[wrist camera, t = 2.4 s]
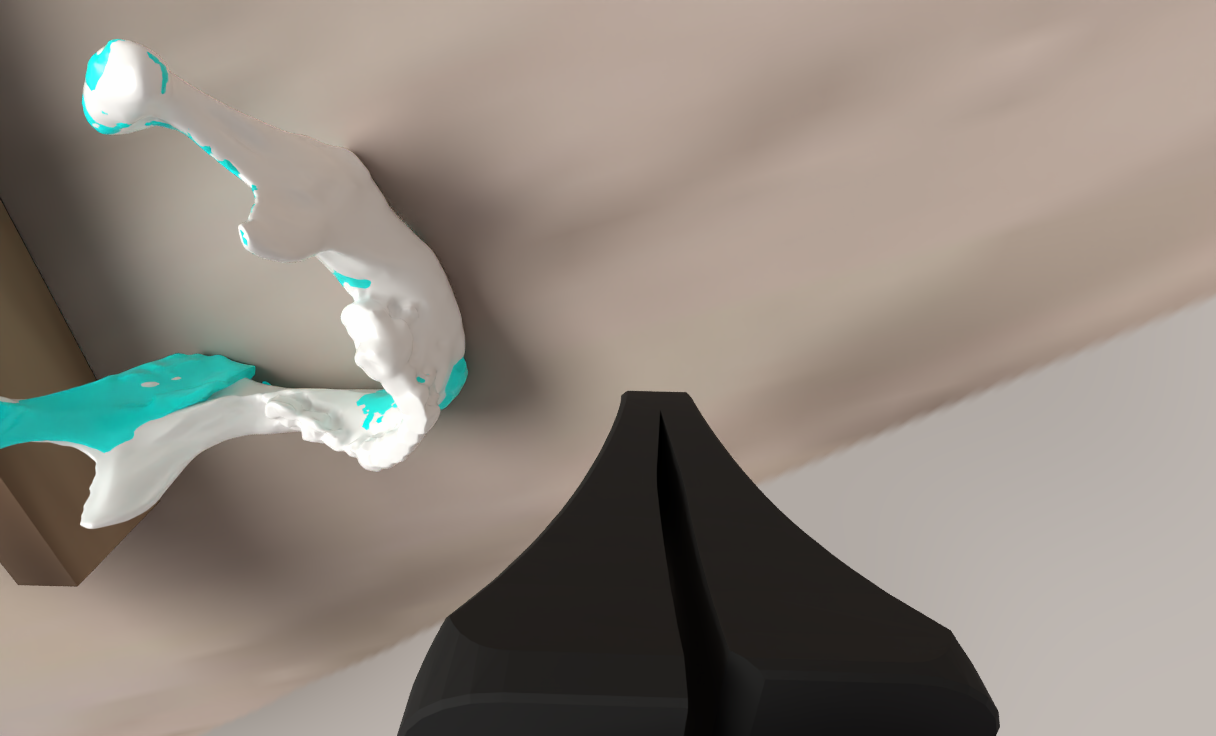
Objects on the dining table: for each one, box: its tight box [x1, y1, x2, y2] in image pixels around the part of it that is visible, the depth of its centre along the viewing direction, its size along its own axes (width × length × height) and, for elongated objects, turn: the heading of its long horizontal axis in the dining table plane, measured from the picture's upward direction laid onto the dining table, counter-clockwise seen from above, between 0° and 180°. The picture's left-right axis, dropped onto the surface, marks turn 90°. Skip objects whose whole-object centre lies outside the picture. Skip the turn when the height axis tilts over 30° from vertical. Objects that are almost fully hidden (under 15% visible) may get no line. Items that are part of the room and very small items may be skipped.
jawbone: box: [0, 39, 468, 529], centre depth 15 cm, size 12×8×9 cm, turn 139°
